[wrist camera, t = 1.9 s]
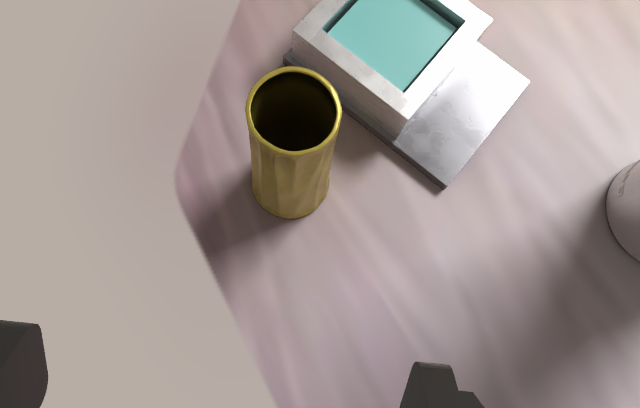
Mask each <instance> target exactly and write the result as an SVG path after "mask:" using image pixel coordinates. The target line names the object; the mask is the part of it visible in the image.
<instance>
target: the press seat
mask: <svg viewBox="0 0 640 408" xmlns="http://www.w3.org/2000/svg"><path fill="white" fill-rule="evenodd" d="M456 29H457V28H456V27H454V26H453V25H452V24H450V23H449V22H448V21H446V20H445V19H444V18H442V17H441V16H440V15H438V14H437V13H436V12H434V11H433V10H432V9H430V8H429V7H428V6H426V5H425V4H424V3H422V2H421V1H420V0H358V1H357V2H356V3H355V4H354V5H353V6H352V7H351V9H350V10H349V11H348V12H347V13H346V14H345V15H344V16H343V17H342V18H341V19H340V20H339V21H338V22H337V23H336V25H335V26H334V27H333V28H332V29H331V30H330V31H329V32H328V33H327V34H329V35H330V36H331V37H333V38H334V39H335V40H336V41H338V42H339V43H340V44H342V45H343V46H344V47H345V48H347V49H348V50H349V51H351V52H352V53H353V54H355V55H356V56H357V57H358V58H360V59H361V60H362V61H364V62H365V63H366V64H367V65H369V66H370V67H371V68H373V69H374V70H375V71H376V72H378V73H379V74H380V75H382V76H383V77H384V78H386V79H387V80H388V81H389V82H391V83H392V84H393V85H395V86H396V87H397V88H398V89H400V90H401V91H402V92H404V91H405V90H406V89H407V88H408V87H409V86H410V84H411V83H412V82H413V81H414V80H415V79H416V77H417V76H418V75H419V74H420V73H421V72H422V71H423V69H424V68H425V67H426V66H427V65H428V64H429V62H430V61H431V60H432V59H433V58H434V57H435V55H436V54H437V53H438V52H439V51H440V50H441V48H442V47H443V46H444V45H445V44H446V43H447V41H448V40H449V39H450V38H451V37H452V36H453V34H454V32H455V31H456Z"/></svg>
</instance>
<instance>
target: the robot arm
mask: <svg viewBox="0 0 640 408" xmlns="http://www.w3.org/2000/svg"><path fill="white" fill-rule="evenodd" d="M606 212H607V217H608V222H609V225H610V227H611V230H612V232H613V234H614V236H615V237H616V239H617V241H618V242H619V244H620V245H621V246H622V247H623V248H624V249H625V250H626V251H627V252H628V253H629V254H630V255H631V256H633V257H634V258H635V259H637V260H638V261H640V160H639V161H637V162H635V163H633V164H631V165H629V166H628V167H626V168H625V169H623V170H622V171H621V172H620V173H619V174H618V175H617V176H616V177H615V178H614V180H613V182H612V184H611V186H610V188H609V191H608V195H607V200H606ZM47 384H48V371H47V365H46V359H45V352H44V346H43V339H42V333H41V328H40V326H39V325H38V324H33V323H23V322H13V321H4V320H0V408H40V406H41V404H42V402H43V399H44V396H45V393H46V389H47ZM400 408H484V407H483V405H482V404H481V403H480V401H479V400H478V399H477V397H476V396H475V395H474V393H473V392H465V391H458V388H457V384H456V381H455V377H454V374H453V370H452V368H451V367H450V366H449V365H444V364H435V363H425V362H415V363H414V364H413V366H412V369H411V373H410V376H409V379H408V382H407V385H406V389H405V392H404V395H403V398H402V401H401V405H400Z"/></svg>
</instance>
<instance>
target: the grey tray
mask: <svg viewBox="0 0 640 408" xmlns="http://www.w3.org/2000/svg"><path fill="white" fill-rule="evenodd" d="M357 1H358V0H321V1H320V2H319V3H318V4H317V5H316V6H315V7H314V8H313V9H312V10H311V11H310V13H309V14H308V15H307V16H306V17H305V18H304V19H303V20H302V21H301V22H300V23H299V24H298V25H297V26H296V27H295V28H294V29H293V40H292V48H291V49H290V51H289V52H288V53H287V54H286V55H285V56H284V57H283V63H284V64H285V65H287V66H294V67H302V68H307V69H310V70H312V71H315V72H317V73H318V74H320V75H321V76H323V77H324V78H325V79H326V80H328V81H329V82H330V84H331V85H332V86H333V87H334V89H335V90H336V92H337V94H338V97H339V100H340V103H341V107H342V110H344V111H345V112H346V113H347V114H349V115H350V116H351V117H353V118H354V119H355V120H356V121H358V122H359V123H360V124H361V125H363V126H364V127H365V128H366V129H368V130H369V131H370V132H372V133H373V134H374V135H375V136H377V137H378V138H379V139H380V140H382V141H383V142H384V143H386V144H387V145H388V146H389V147H391V148H392V149H393V150H394V151H396V152H397V153H398V154H399V155H401V156H402V157H403V158H405V159H406V160H407V161H408V162H410V163H411V164H412V165H413V166H415V167H416V168H417V169H418V170H420V171H421V172H422V173H424V174H425V175H426V176H427V177H429V178H430V179H431V180H432V181H434V182H435V183H436V184H437V185H439V186H440V187H441V188H443V189H445V188H446V187H447V186H448V185H449V184H450V183H451V181H452V180H453V179H454V178H455V176H456V175H457V174H458V172H459V171H460V170H461V169H462V167H463V166H464V165H465V164H466V162H467V161H468V160H469V159H470V157H471V156H472V155H473V153H474V152H475V151H476V150H477V148H478V147H479V146H480V145H481V143H482V142H483V141H484V140H485V138H486V137H487V136H488V134H489V133H490V132H491V131H492V129H493V128H494V127H495V126H496V124H497V123H498V122H499V120H500V119H501V118H502V117H503V115H504V114H505V113H506V112H507V110H508V109H509V108H510V107H511V105H512V104H513V103H514V101H515V100H516V99H517V98H518V96H519V95H520V94H521V93H522V91H523V90H524V89H525V87H526V86H527V85H528V84H529V82H530V81H529V80H528V79H526V78H525V77H524V76H522V75H521V74H520V73H518V72H517V71H516V70H514V69H513V68H512V67H510V66H509V65H508V64H506V63H505V62H504V61H502V60H501V59H500V58H498V57H497V56H496V55H494V54H493V53H492V52H490V51H489V50H488V49H486V48H485V47H484V46H482V45H481V44H480V43H478V41H479V39H480V38H481V36H482V35H483V33H484V32H485V30H486V29H487V27H488V26H489V24H490V23H491V21H492V20H493V19H491V18H490V17H489V16H487V15H486V14H484V13H483V12H482V11H480V10H479V9H478V8H476V7H475V6H474V5H472V4H471V3H470V2H468V1H467V0H420V1H421V2H422V3H424V4H425V5H426V6H428V7H429V8H430V9H432V10H433V11H434V12H436V13H437V14H438V15H440V16H441V17H442V18H444V19H445V20H446V21H448V22H449V23H450V24H452V25H453V26H454V27H456V28H457V29H456V31H455V32H454V34H453V36H452V37H451V38H450V39H449V40H448V41H447V43H446V44H445V45H444V46H443V47H442V48H441V50H440V51H439V52H438V53H437V54H436V55H435V57H434V58H433V59H432V60H431V61H430V62H429V64H428V65H427V66H426V67H425V68H424V69H423V71H422V72H421V73H420V74H419V75H418V76H417V77H416V79H415V80H414V81H413V82H412V83H411V84H410V86H409V87H408V88H407V89H406V90H405V91H404V92H402V91H401V90H400V89H398V88H397V87H396V86H395V85H393V84H392V83H391V82H389V81H388V80H387V79H386V78H384V77H383V76H382V75H380V74H379V73H378V72H376V71H375V70H374V69H373V68H371V67H370V66H369V65H367V64H366V63H365V62H364V61H362V60H361V59H360V58H358V57H357V56H356V55H355V54H353V53H352V52H351V51H349V50H348V49H347V48H345V47H344V46H343V45H342V44H340V43H339V42H338V41H336V40H335V39H334V38H333V37H331V36H330V35H329V34H327V33H328V32H329V31H330V30H331V29H332V28H333V27H334V26H335V25H336V23H337V22H338V21H339V20H340V19H341V18H342V17H343V16H344V15H345V14H346V13H347V12H348V11H349V10H350V9H351V7H352V6H353V5H354V4H355V3H356V2H357Z"/></svg>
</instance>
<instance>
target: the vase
mask: <svg viewBox="0 0 640 408" xmlns="http://www.w3.org/2000/svg"><path fill="white" fill-rule="evenodd" d="M245 112H246V118H247V124H248V129H249V139H250V148H251V165H252V188H253V192H254V195H255V197H256V199H257V200H258V202H259V203H260V205H261V206H262V207H263V208H264V209H266V210H267V211H269V212H270V213H272V214H274V215H276V216H279V217H282V218H299V217H302V216H305V215H308V214H310V213H311V212H313V211H314V210H315V209H316V208H318V206H319V205H320V204H321V203H322V201H323V200H324V199H325V197H326V195H327V191H328V187H329V170H330V164H331V159H332V155H333V151H334V147H335V143H336V139H337V136H338V131H339V126H340V121H341V118H342V107H341V103H340V100H339V97H338V94H337V92H336V90H335V89H334V87H333V86H332V85H331V84H330V82H329V81H328V80H326V79H325V78H324V77H323V76H321V75H320V74H318V73H317V72H315V71H312V70H310V69H307V68H302V67H294V66H288V67H282V68H279V69H276V70H273V71H271V72H269V73H267V74H266V75H264V76H263V77H262V78H261V79H260V80H259V81H258V82H257V83H256V84H255V85H254V86H253V88H252V89H251V91H250V93H249V95H248V98H247V102H246V107H245Z"/></svg>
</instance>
